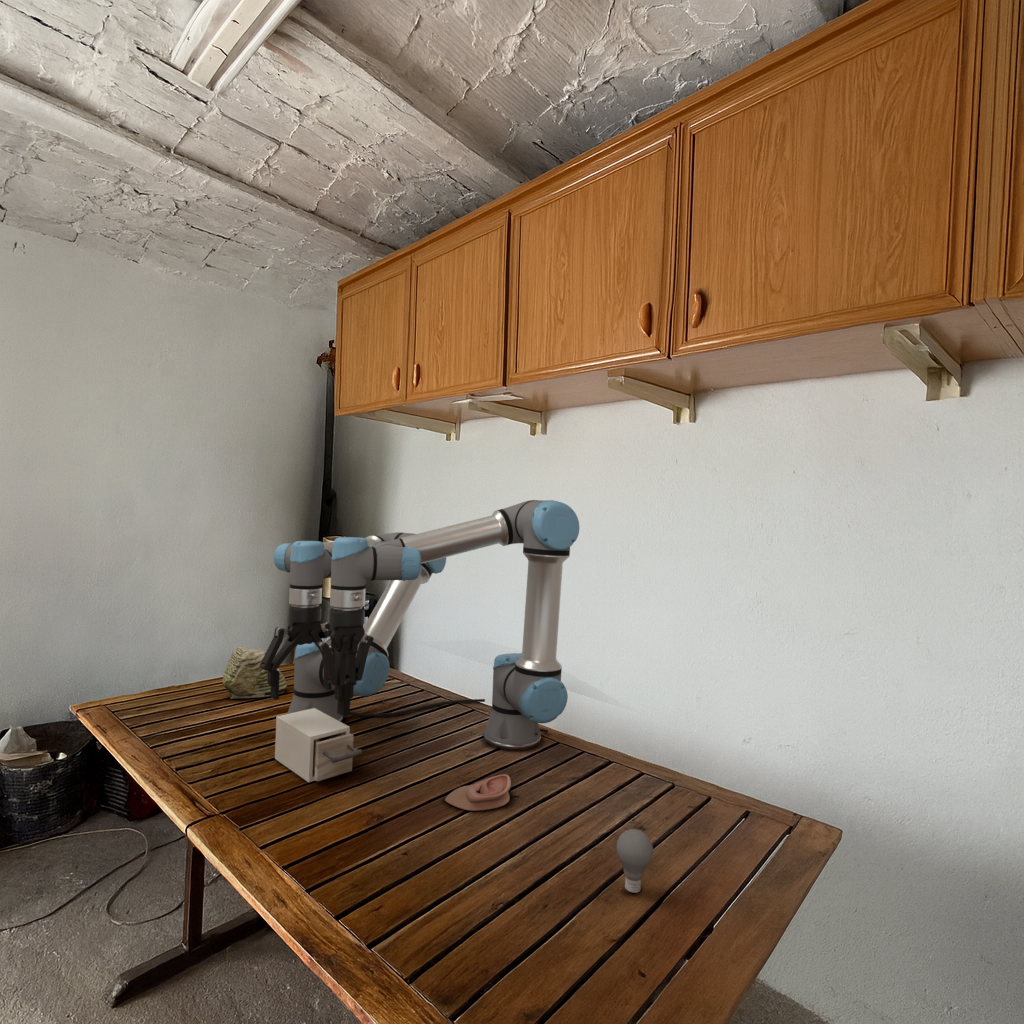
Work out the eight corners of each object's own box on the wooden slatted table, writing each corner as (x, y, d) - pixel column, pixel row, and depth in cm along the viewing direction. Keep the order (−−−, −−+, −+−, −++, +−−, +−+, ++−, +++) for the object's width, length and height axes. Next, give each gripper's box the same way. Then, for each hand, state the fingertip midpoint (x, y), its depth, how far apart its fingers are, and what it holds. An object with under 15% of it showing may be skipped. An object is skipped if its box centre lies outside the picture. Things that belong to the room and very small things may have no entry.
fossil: (218, 695, 195) (220, 647, 195) (278, 685, 208) (279, 640, 207) (228, 703, 189) (230, 653, 188) (289, 692, 201) (290, 645, 201)
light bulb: (610, 879, 108) (613, 822, 108) (644, 879, 109) (647, 822, 109) (619, 902, 102) (622, 840, 102) (655, 901, 103) (658, 840, 103)
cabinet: (348, 770, 147) (350, 726, 147) (308, 782, 140) (310, 736, 140) (312, 748, 159) (314, 707, 159) (274, 758, 152) (276, 716, 152)
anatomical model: (441, 787, 131) (457, 765, 142) (440, 806, 131) (456, 783, 143) (503, 796, 129) (514, 773, 140) (502, 816, 129) (513, 791, 140)
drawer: (364, 778, 141) (366, 741, 141) (329, 790, 135) (330, 751, 135) (318, 749, 156) (319, 716, 156) (284, 759, 149) (285, 724, 149)
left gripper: (261, 612, 141) (257, 707, 141) (358, 603, 159) (355, 687, 159) (247, 607, 146) (243, 698, 146) (343, 599, 164) (339, 680, 164)
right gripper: (329, 613, 132) (325, 725, 132) (382, 607, 141) (378, 712, 142) (311, 607, 137) (307, 715, 138) (363, 602, 146) (359, 703, 147)
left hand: (301, 693), depth 153 cm, fingers open, 13 cm apart
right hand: (343, 713), depth 140 cm, fingers closed
